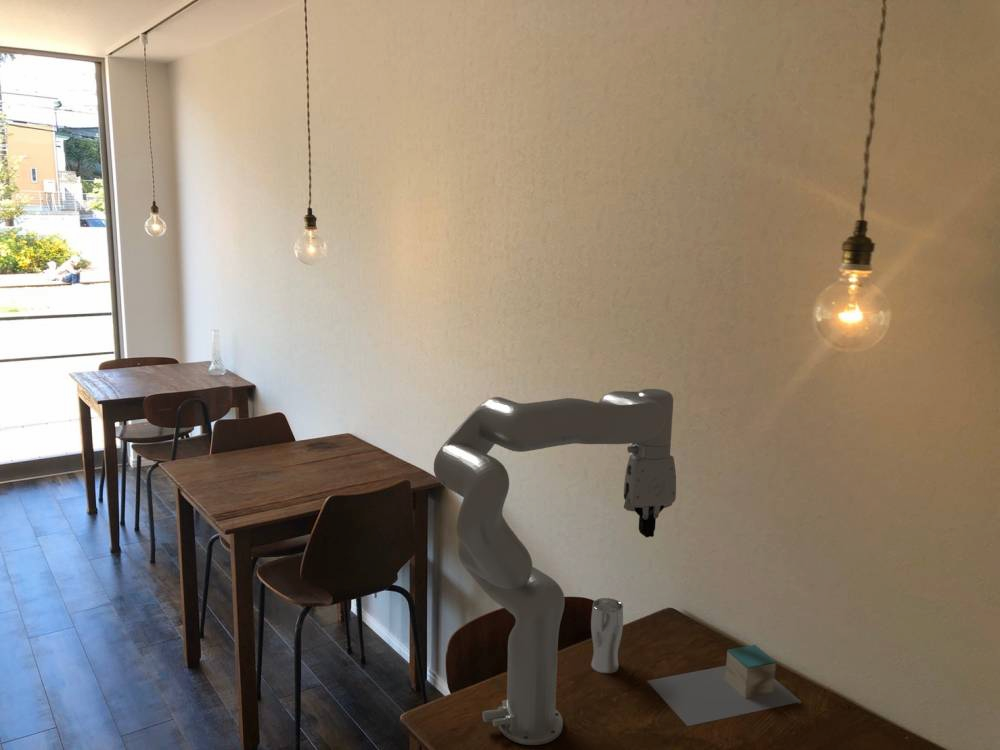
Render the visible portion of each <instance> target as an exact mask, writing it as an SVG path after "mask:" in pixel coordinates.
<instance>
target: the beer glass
mask: <svg viewBox="0 0 1000 750" xmlns="http://www.w3.org/2000/svg"><path fill="white" fill-rule="evenodd" d="M623 605H624V604H623V603H622V602H621V601H619V600H617V599H614V598H610V597H602V598H601V597H600V598H598V599H595V600H594V601H593V602H592V607H591V608H592V609H591V618H590V630H591V638H592V647H593V648H592V649H593V655H592V660H591V664H590V665H591V667H592V669H593V670H594V671H596V672H598V673H601V674H612V673H613V674H614V673H616V672H617V671H618V670H619V667H620V665H619V658H618V654H619V649H620V644H621V639H622V635H623V628H624V606H623Z"/></svg>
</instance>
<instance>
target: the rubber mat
mask: <svg viewBox="0 0 1000 750" xmlns="http://www.w3.org/2000/svg"><path fill="white" fill-rule="evenodd" d="M725 673H726V665H722V666H717V667H712V668H708V669H701V670H697V671H691V672H685V673H680V674H676V675H675V674H674V675H670V676H664V677H661V678H654V679H649V680H646V682H647V683H648V684H649V686H651V687H652V688H653V690H654V691H655V692H656V693H657V694H658V695H659V697H661V698H662V699H663V701H664V702H665V703H666V704H667V705H668V706H669V707H670V709H671V710H672V711H673V712H674V713H675V714H676V715H677V716H678V717H679V719H680V720H681V721H682V722H683V723H684V724H685V725H686V726H687V727H690V726H695V725H699V724H705V723H709V722H710V723H711V722H715V721H719V720H723V719H728V718H732V717H737V716H742V715H746V714H747V715H748V714H751V713H756V712H760V711H765V710H769V709H774V708H779V707H783V706H789V705H792V704H798V705H801V704H802V701H801V699H799V698H798V697H797V696H796V695H794V694H793V693H792V692H791V691H790V690H789V689H788V688H786V687H785V686H784V685H783V684H781V683H780V682H779V681H778V680H776V678H774V688H773V692H771V693H767V694H762V695H757V696H752V697H747V698H744V697H743V696H742V695H741V694H740V693H739V692H738V691H737V690H736V689H735V688H734V687H733V686H732V685H730V684H729V683H728V682H727V681H726V680H725Z"/></svg>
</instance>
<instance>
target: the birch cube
mask: <svg viewBox="0 0 1000 750" xmlns="http://www.w3.org/2000/svg"><path fill="white" fill-rule="evenodd" d="M726 652H727V653H726V662H725V666H726V673H725V680H726V681H727V682H728V683H729V684H730V685H732V686H733V687H734V688H735V689H736V690H737V691H738V692H739V693H740V694H741V695H742V696H743V697H744V698H747V697H752V696H757V695H762V694H767V693H771V692H773V688H774V679H775V677H776V667H777V662H776V660H774V659H773V658H772V657H771V656H770V655H768V654H767V653H766V652H764V651H763V650H762V649H761V648H760V647H759V646H757V645H756V644H751V645H746V646H742V647H735V648H729V649H727V650H726Z"/></svg>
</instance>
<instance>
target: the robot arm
mask: <svg viewBox="0 0 1000 750" xmlns="http://www.w3.org/2000/svg"><path fill="white" fill-rule="evenodd" d="M673 412H674V396H673V395H672V393H671V392H670V391H667V390H664V389H660V388H646V389H645V388H644V389H642V390H639V391H628V390H627V391H626V390H625V391H624V390H615V391H610V392H608V393H606V394H605V395H602V397H601V398H600V400H599V401H598V402H597V401H592V400H588V399H583V398H582V399H581V398H573V397H567V398H557V399H551V400H544V401H543V400H542V401H535V402H526V403H524V402H523V403H521V402H520V403H519V402H518V401H517V402H516V401H513V400H511V399H507V398H504V397H500V396H494V397H493V396H492V397H491V398H488V399H487V400H485V401H483V402H482V403H480V404H479V405H478V406H477V407H476V408H475V409H474V410H473V411H472V412H471V413H470V414H469V415H468V416H467V417H466V418H465V420H464V421H462V423H461V424H460V425H459V426H458V427H457V429H456V430H455V431H454V432H453V433H452V434H451V436H450V437H448V439H447V440H446V441H445V442H444V443H443V444H442V445H441V447H440V448H439V450H438V451H437V454H436V455H435V457H434V462H433V472H434V475H435V478H436V480H437V481H438V482H439V484H441V485H442V486H443V487H445V488H446V489H448V490H450V491H451V492H453V493H455V494H457V495H459V496H461V497H462V498H463V500H462V503H461V505H460V508H459V512H458V516H457V520H456V525H455V529H456V534H457V538H458V539H459V541H458V545H457V552H458V557H459V560H460V562H461V564H462V566H463V567H464V569H465V570H466V571H467V572H468V573H469V575H470V576H471V577H472V579H474V581H475V582H476V583H477V584H478V586H480V588H481V589H482V590H483V592H484V593H486V595H487V596H488V597H489V598H490V599H492V600H493V601H494V602H496V604H498V605H499V606H501V607H503V609H505V610H506V611H507V612H508V613H510V614H511V615H513V617H514V618H515V623H514V626H513V627H512V629H511V630H510V633H509V635H508V638H507V639H508V640H507V673H506V674H507V677H506V679H507V680H506V685H507V686H506V699H503V700H501V706H498V707H497V708H496V709H490V710H489V709H488V710H484V711H482V713H481V714H482V715H481V716H482V720H483V722H484V723H487V722H492V725H493V728H498V729H499V730H500V732H501V733H502V735H503V736H504V737H506V738H507V739H509V740H510V741H512V742H514V743H516V744H517V743H518V744H520V745H524V746H525V745H526V746H540V745H544V744H545V745H546V744H548V743H550V742H552V741H554V740H556V739H557V738H558V737H559V736H560V735H561V733H562V731H563V727H564V719H563V717H562V715H561V713H560V712H559V711H558V710H557V709H556V705H557V704H556V703H557V676H558V675H557V674H558V647H559V643H558V642H559V634H560V633H559V632H560V625H561V622H562V617H563V614H564V610H565V602H566V601H565V600H566V599H565V595H564V592H563V589H562V587H561V586H560V585H559V584H558V582H556V580H555V579H553V578H552V577H550V576H549V575H548V574H546V573H545V572H542V571H541V570H539V569H537V568H536V567H534V566H533V561H532V557H531V554H530V553H529V550H528V549H527V547H526V545H524V544H523V542H522V541H521V540H520V539H519V537H518V536H517V535H516V533H515V532H514V531H513V530H512V528H511V527H510V525H509V524H508V523H507V521H506V519H505V518H504V516H503V511H504V510H503V509H504V506H505V505H504V504H505V502H506V499H507V498H508V497H507V496H508V492H509V488H510V477H509V474H508V473H509V472H508V471H507V469H506V467H505V466H504V464H502V462H501V461H499V460H498V459H497V458H495V457H493V456H491V455H489V454H488V453H489V452H490V451H491V449H492V448H493V447H494V446H495V445H496V446H499V447H502V448H504V449H507V450H508V451H512V452H517V453H520V452H521V453H522V452H523V453H524V452H525V453H526V452H530V451H537V450H542V449H543V450H544V449H548V448H552V447H558V446H559V447H561V446H566V445H573V444H578V445H579V444H580V445H626V444H627V445H628V446H627V453H629V454H630V456H628V457H629V458H628V461H627V464H626V465H627V466H626V471H625V475H624V485H623V500H625V501H624V504H623V508H624V509H625V510H626V511H627V512H634V513H636V514H637V515H638V531H639V534H641V535H642V536H644V538H653V537H654V536H655V531H656V519H658V517H659V514H660V513H661V512H662V511H663V510H664V509H666V508H668V507H671V506H673V503H674V502H675V501H676V499H677V474H676V472H677V471H676V465H675V459H674V457H675V456H673V455H671V445H672V444H671V443H672V430H673V429H672V428H673V427H672V426H673V414H674V413H673ZM629 444H631V445H629ZM631 453H632V454H631Z"/></svg>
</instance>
